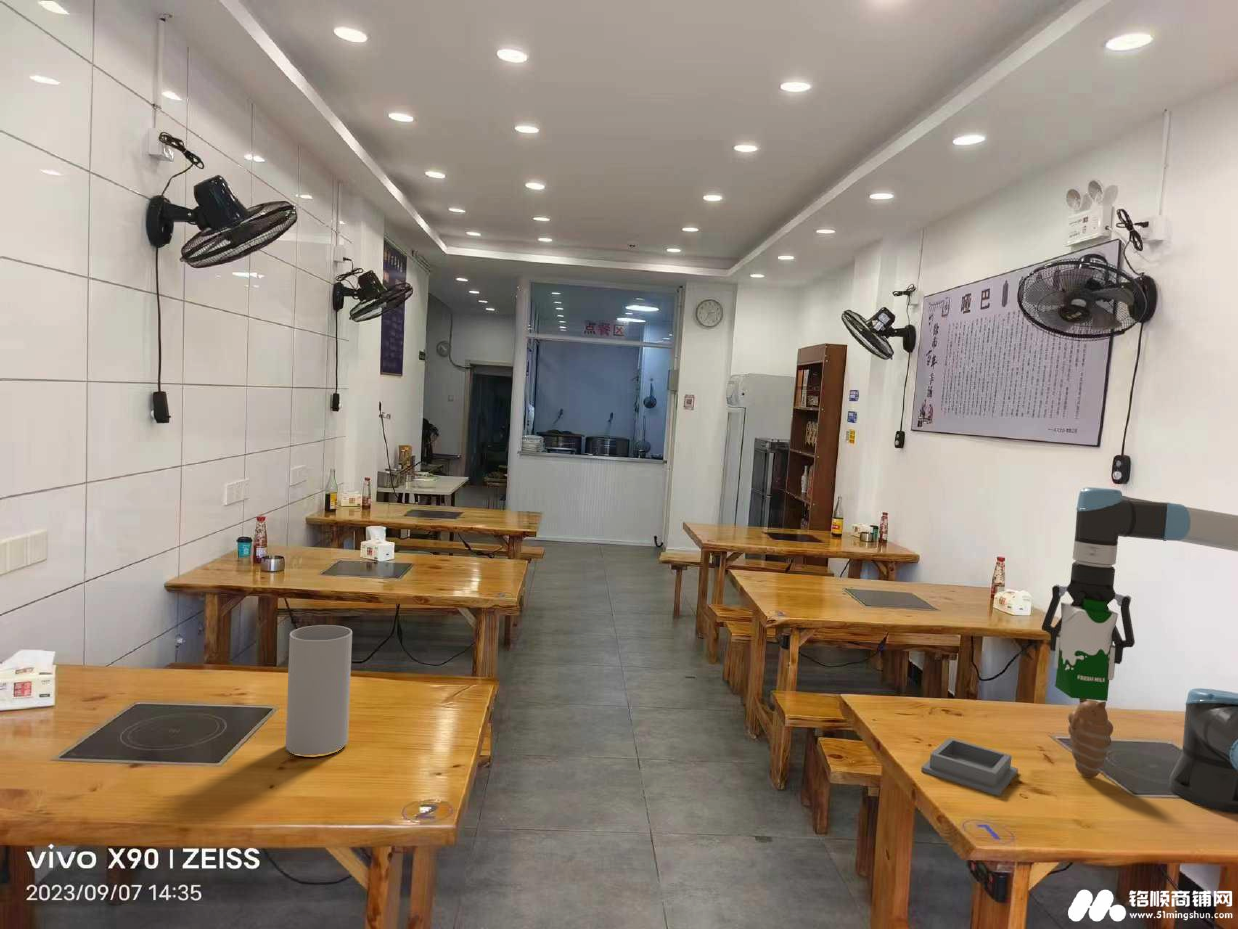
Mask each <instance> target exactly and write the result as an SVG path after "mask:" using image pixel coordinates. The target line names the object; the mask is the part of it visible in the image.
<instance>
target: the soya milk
mask: <svg viewBox="0 0 1238 929" xmlns="http://www.w3.org/2000/svg"><path fill="white" fill-rule="evenodd" d="M1071 604H1072V602H1062V601H1060V611H1061V612H1060V614H1061V616H1060V618H1061V617H1062V616H1063V617H1062V625H1061V631H1060V633H1059V635H1060V647H1059V658H1058V669H1057V668H1056V675H1055V681H1054V682H1055V684H1054V685H1055V686H1054V687H1055V688H1056V689H1058V690H1060V692H1062V693H1063V694H1065V695H1066V696H1068V697H1070V698H1071V699H1078V700H1079V699H1087V700H1095V701H1100V702H1103V701H1106V702H1108V697H1109V687H1110V686H1109V685H1110V680H1108V671H1109V660H1110V650H1111V647H1112V646H1113V645H1114V642H1113V640H1112V637H1111V635H1112V631H1113V628H1114V627H1115V626H1116V627H1117V620H1118V617H1119V613H1117V612H1115V611H1113V610H1111V609H1109V610H1108V611H1107V612H1106V607H1107V606H1108V605H1107V601H1095V600H1093V599H1087V598H1084V601H1083V607H1080V606H1078V607H1075V606H1071Z"/></svg>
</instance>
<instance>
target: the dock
mask: <svg viewBox="0 0 1238 929" xmlns="http://www.w3.org/2000/svg"><path fill="white" fill-rule="evenodd" d="M921 772H922V773H924V774H928V775H931V776H935V777H938V778H941V779H944V780H947V781H949V782H950V781H951V782H953V783H956V784H959V785H963V786H966V787H969V788H972V789H975V790H978V791H982V792H984V793H987V794H991V795H994V796H996V797H1000V796H1001V795H1002V794H1003V792H1004V791H1005V790H1006V788H1007V787H1008V786H1009V785H1010V783H1011V782H1012V781H1013V780H1014V778H1015V777H1016V775H1017V774H1018V773H1019V768H1017V767H1015V766H1012V754H1008V753H1004V752H1000V751H999V750H998V751H997V750H995V749H992V748H991V749H990V748H987V747H984V746H981V745H977V744H973V743H971V742H970V743H969V742H966V741H963V740H959V739H956V738H953V737H948V738H947V739H946V740H945V741H944V742H943V743H941V744H940V745H939V746H938V747H937V748H936V749H934V750H933V751H932V752H931V753H930V757H929V760H928V761H927V762H925V764H924V765H922V766H921Z"/></svg>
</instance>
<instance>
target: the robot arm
mask: <svg viewBox="0 0 1238 929" xmlns="http://www.w3.org/2000/svg"><path fill="white" fill-rule="evenodd" d="M1075 510H1076V516H1075V518H1076V519H1075V533H1074V543H1073V550H1072V559H1073V563H1071V573H1070V581H1069V583H1068V585H1067V586H1066V585H1059V584H1055V585H1054V586H1052V589H1051V590H1052V591H1051V592H1052V593H1051V594H1052V598H1051V599H1050V603H1049V605H1048V607H1047V611H1046V614H1045V617H1044V619H1043V621H1042V622H1043V623H1042V625H1041V630H1042V631H1044V632H1046V633H1048V634H1050V643H1049V649H1050V651H1052V652H1054V660H1053V661H1054V662H1053V668H1054V669H1056V670H1057V669H1058V658H1059V647H1060V633H1061V625H1062V617H1063V616H1062V617H1061V616H1060V619H1059V620H1058V621H1057V623H1056V624H1055V626H1052V623H1053V621H1054V618H1055V615H1056V613H1057V609H1058V606H1059V604H1060V603H1061V598H1062V597H1063V596H1064V595H1065V594H1066V592H1067V593H1068V595H1069V596H1070V598H1071V600H1072V602H1071V603H1072V604H1071V606H1075V607H1078V606H1080V607H1083V601H1084V598H1087V599H1093V600H1095V601H1107V607H1106V612H1107V611H1108V610H1110V608H1109V604H1110V603H1111V602H1112V601H1113V600H1115V601H1116V604H1117V605H1118V606H1119V607H1120V615H1121V621H1122V628H1123V633H1124V638H1125V639H1124V640H1123V638H1122V636H1121V634H1120V631H1119V630H1118V627H1117V625H1116V626H1115V627H1114V628H1113V631H1112V635H1111V637H1112V640H1113V646H1112V647H1111V650H1110V660H1109V671H1108V680H1109V681H1113V680H1114V678H1115V670H1116V669H1115V668H1116V665H1121V664H1122V662H1123V655H1124V654H1123V652H1124V649H1125V648H1132V647H1133V646H1135V644H1136V641H1135V635H1134V628H1133V624H1132V617H1131V611H1130V610H1131V609H1130V605H1131V602H1132V597H1131V596H1129V595H1122V594H1118V593H1116V591H1115V590H1114V584H1115V576H1116V575H1115V574H1116V569H1115V567H1114V566H1113V565H1115V564H1117V562H1116V561H1117V555H1118V543H1119V542H1118V541H1119V537H1120V538H1121V537H1123V538H1135V539H1146V540H1157V541H1163V542H1167V541H1171V542H1172V541H1177V542H1182V543H1188V544H1193V545H1199V546H1203V547H1211V548H1214V549H1215V548H1216V549H1221V550H1228V551H1233V552H1237V553H1238V514H1231V513H1224V512H1219V511H1213V510H1209V509H1202V508H1194V507H1189V506H1185V505H1183V504H1181V503H1173V502H1168V501H1167V502H1162V501H1152V500H1148V499H1140V498H1137V497H1136V498H1135V497H1131V496H1130V497H1129V496H1126V495H1123V492H1122V491H1121V490H1119V489H1114V488H1104V487H1088V486H1087V487H1083V488H1082V489H1081V490H1080V491H1079V495H1078V499H1077V505H1076V509H1075ZM1184 713H1185V714H1184V727H1183V728H1184V729H1183V739H1182V750H1181V755H1180V757H1179V759H1178V760H1177V761H1176V764H1175V765H1174V768H1173V770H1172V771H1171V773H1170V774H1169V780H1168V787H1169V789H1170V790H1171V791H1172V792H1173V793H1175V794H1176V795H1177V796H1179V797H1180V798H1182V799H1184V800H1186V801H1189V802H1191V803H1193V804H1196V805H1199V806H1200V807H1201V806H1202V807H1205V808H1208V809H1212V810H1215V811H1219V812H1222V813H1223V812H1224V813H1228V814H1229V813H1230V814H1235V815H1236V814H1237V815H1238V693H1237V692H1232V691H1225V690H1220V689H1212V688H1201V687H1200V688H1199V687H1198V688H1192V689H1190V690H1189V691H1188V693H1187V698H1186V702H1185V712H1184Z"/></svg>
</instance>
